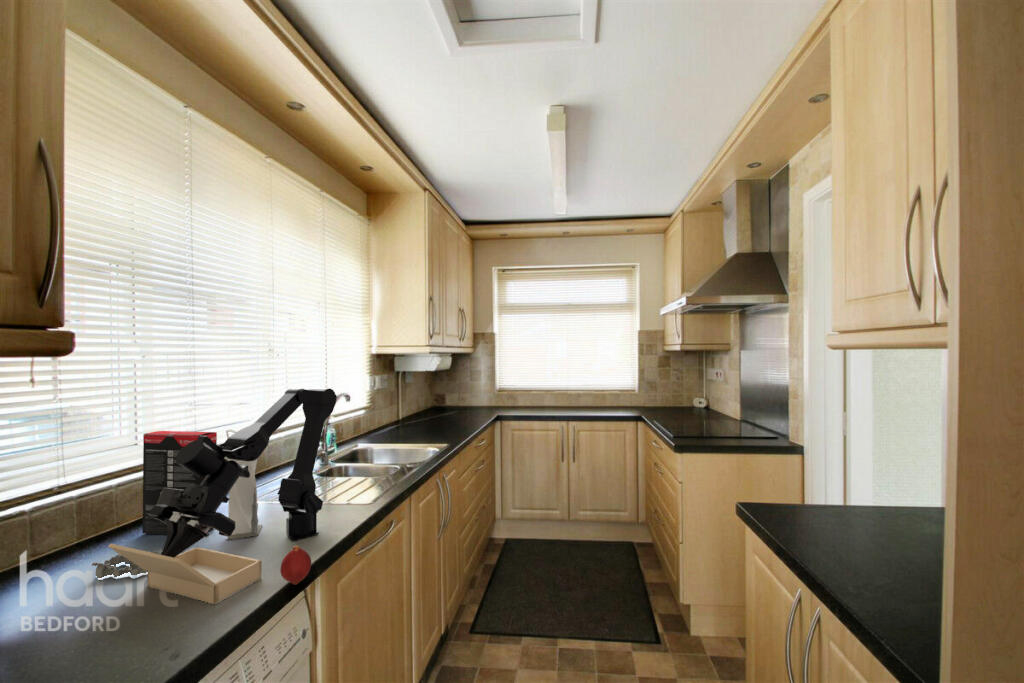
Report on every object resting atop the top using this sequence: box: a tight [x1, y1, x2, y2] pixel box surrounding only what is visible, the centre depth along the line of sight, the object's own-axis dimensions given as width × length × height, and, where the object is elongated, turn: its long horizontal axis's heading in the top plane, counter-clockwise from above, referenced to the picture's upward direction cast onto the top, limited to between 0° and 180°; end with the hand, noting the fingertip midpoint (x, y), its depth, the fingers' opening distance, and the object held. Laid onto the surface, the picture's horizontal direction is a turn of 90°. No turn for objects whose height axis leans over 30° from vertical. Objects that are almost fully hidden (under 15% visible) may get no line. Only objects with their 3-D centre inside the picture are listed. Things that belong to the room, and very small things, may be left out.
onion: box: [280, 545, 312, 585], centre depth 91 cm, size 6×6×8 cm
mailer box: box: [147, 546, 262, 605], centre depth 92 cm, size 10×20×4 cm, turn 70°
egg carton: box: [91, 548, 163, 578], centre depth 96 cm, size 11×8×4 cm
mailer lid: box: [107, 543, 216, 587], centre depth 84 cm, size 10×20×1 cm
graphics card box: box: [141, 430, 218, 536], centre depth 118 cm, size 17×7×27 cm, turn 84°
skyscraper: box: [225, 429, 263, 541], centre depth 118 cm, size 8×8×28 cm
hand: (161, 563), depth 84 cm, fingers closed, pressing on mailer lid
